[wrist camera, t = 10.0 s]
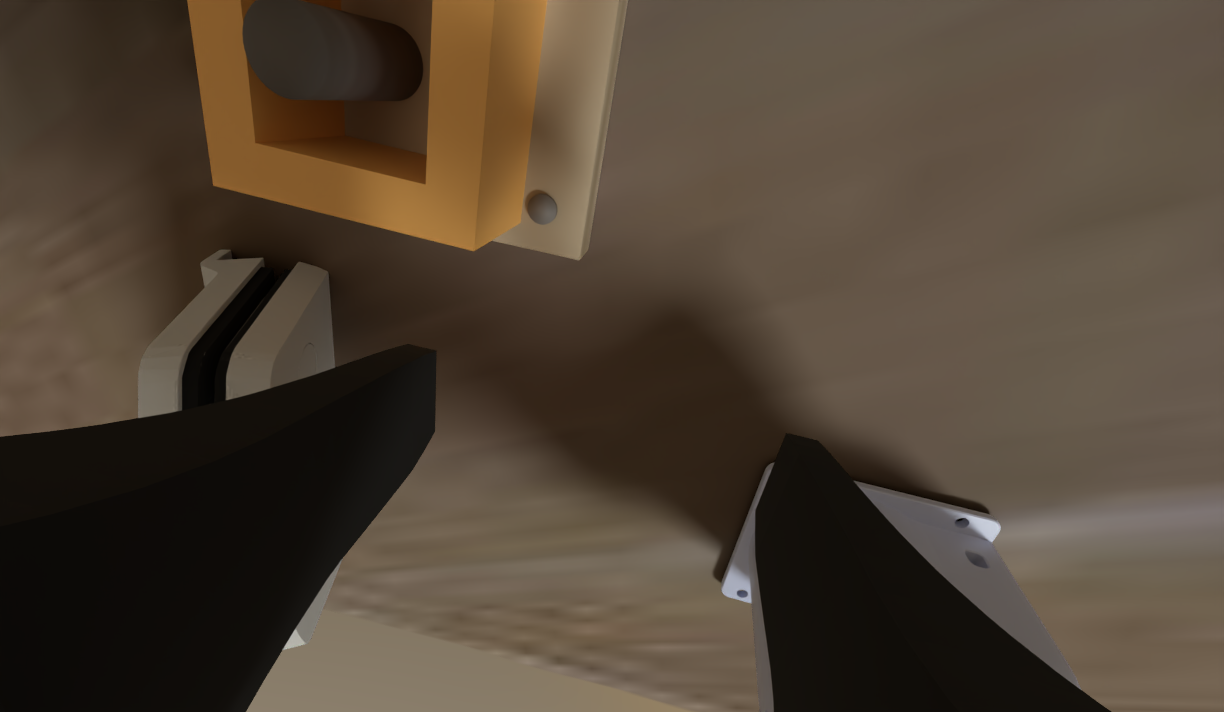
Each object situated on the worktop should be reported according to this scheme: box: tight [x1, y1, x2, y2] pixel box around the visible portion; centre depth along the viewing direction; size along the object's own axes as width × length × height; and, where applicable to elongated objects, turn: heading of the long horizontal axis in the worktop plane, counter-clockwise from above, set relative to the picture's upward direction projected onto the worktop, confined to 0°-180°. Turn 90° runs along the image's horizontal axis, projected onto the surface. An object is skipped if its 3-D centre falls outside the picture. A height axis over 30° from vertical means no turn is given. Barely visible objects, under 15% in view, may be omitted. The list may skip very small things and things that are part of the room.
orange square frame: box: [187, 0, 547, 251], centre depth 15 cm, size 8×8×4 cm
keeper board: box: [242, 0, 628, 260], centre depth 16 cm, size 14×10×6 cm
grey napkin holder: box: [138, 250, 342, 650], centre depth 23 cm, size 17×5×10 cm, turn 170°
